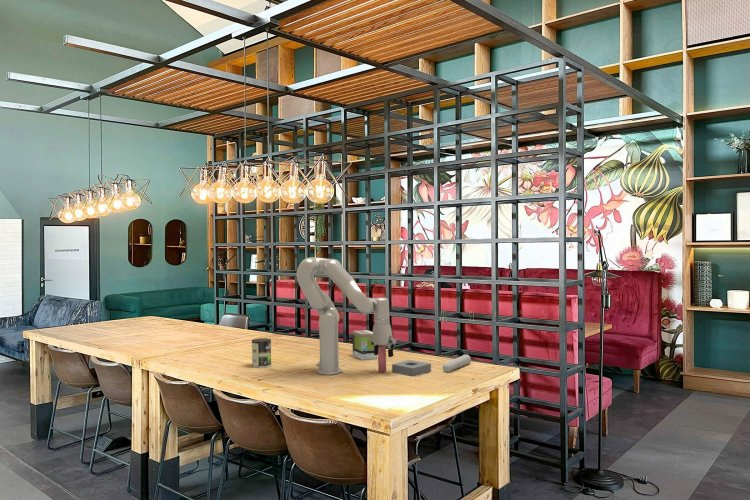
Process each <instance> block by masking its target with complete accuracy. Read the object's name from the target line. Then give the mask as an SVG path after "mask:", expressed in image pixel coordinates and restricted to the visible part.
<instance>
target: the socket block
mask: <svg viewBox="0 0 750 500" xmlns="http://www.w3.org/2000/svg"><path fill="white" fill-rule="evenodd" d="M391 372H392V373H395V374H399V375H405V376H409V377H410V376H411V377H415V376H419V375H424V374H426V373H430V372H432V363H430V362H423V361H419V360H411V359H408V360H404V361H400V362H395V363H392V364H391Z"/></svg>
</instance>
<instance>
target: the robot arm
mask: <svg viewBox="0 0 750 500" xmlns="http://www.w3.org/2000/svg"><path fill="white" fill-rule="evenodd" d="M314 275H326V276H327V277H329V279H331V281H332V282H333V283H334V284H335V285H336V286H337V287H338V288H339V290H340V291H341V292H342V294H343V295H345V296H346V298H347V299H348V300H349V301H350V303H351V304H352V305H353V306H354V307H355V308H356V309H357V310H358V311H359V312H360V313H361V314H363V315H369V314H371V313H372V312H373V314H374V319H373V322H374V324H373V327H372V332H373V337H371V338H370V340H371V344H372V345H373V347H374V355H377V356H378V348H380V347H379V346H386V347H387V348H388V349H387V355H388V358H393V357H394V349H395V347H396V345H397V341H398V340H396V339H395V338H394V337H393V332H392V331H393V330H392V327H391V324H390V304H389V303H390V302H389V299H388V298H387V297H376V298H373V297H368V296H366V295H365V294H364V292H363V291H362V290H361V288H359V286H358V284H357V282H356V280H355V279H354V277H352V276H351V274H349V273H348V272H347V270H346V269H345V268H344V267H343V266H342V264H341V262H340V261H339V260H338V259H335V258H325V257H324V258H323V257H315V256H314V257H313V256H311V257H307V258H304V259H303V260H302V261H301V262H300V264H299V265H298V267H297V270H296V281H297V283H298V285H299V287H300V289H301V291H302V293H303V294H304V296H305V298H306V300H307V302H308V304H309V305H310V307H311V308H312V309H313V310H315V311H316V312H317V315H318V316H319V319H318V332H319V333H318V334H319V361H318V363H316V367H318V369H317V370H316V373H317V374H319V375H323V376H324V375H325V376H329V375H330V376H331V375H332V376H333V375H338V374H341V373H343V370H342V368H340V365H339V364H340V363H339V360H340V359H339V358H340V357H339V355H340V353H339V350H340V349H339V321H340V313H339V311H338V309H337V308H336V307H335V304H334V302H333V301H332V299H331V298H330V296H329V294H328V293H327V292H325V291H324V290H322V288H321V286H320V285H319V283H318V282H317V280H316V279H315V276H314Z"/></svg>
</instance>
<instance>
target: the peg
mask: <svg viewBox="0 0 750 500" xmlns="http://www.w3.org/2000/svg"><path fill="white" fill-rule="evenodd" d="M377 365H378V366H377V369H378V371H377V372H378V373H379V374H384V373H387V348H386V347H379V348H378V355H377Z"/></svg>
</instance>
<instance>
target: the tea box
mask: <svg viewBox="0 0 750 500" xmlns="http://www.w3.org/2000/svg"><path fill="white" fill-rule="evenodd" d="M351 335H352V357H355V358H357V359H359V360H361V361H366V360H367V361H368V360H369V361H370V360H378V355H374V347H373V345H372V344H371V340H370V338H371V337H373V330H372V331H371V330H368V329H366V330H365V329H364V330H361V329H360V330H353V331H352V333H351Z"/></svg>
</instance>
